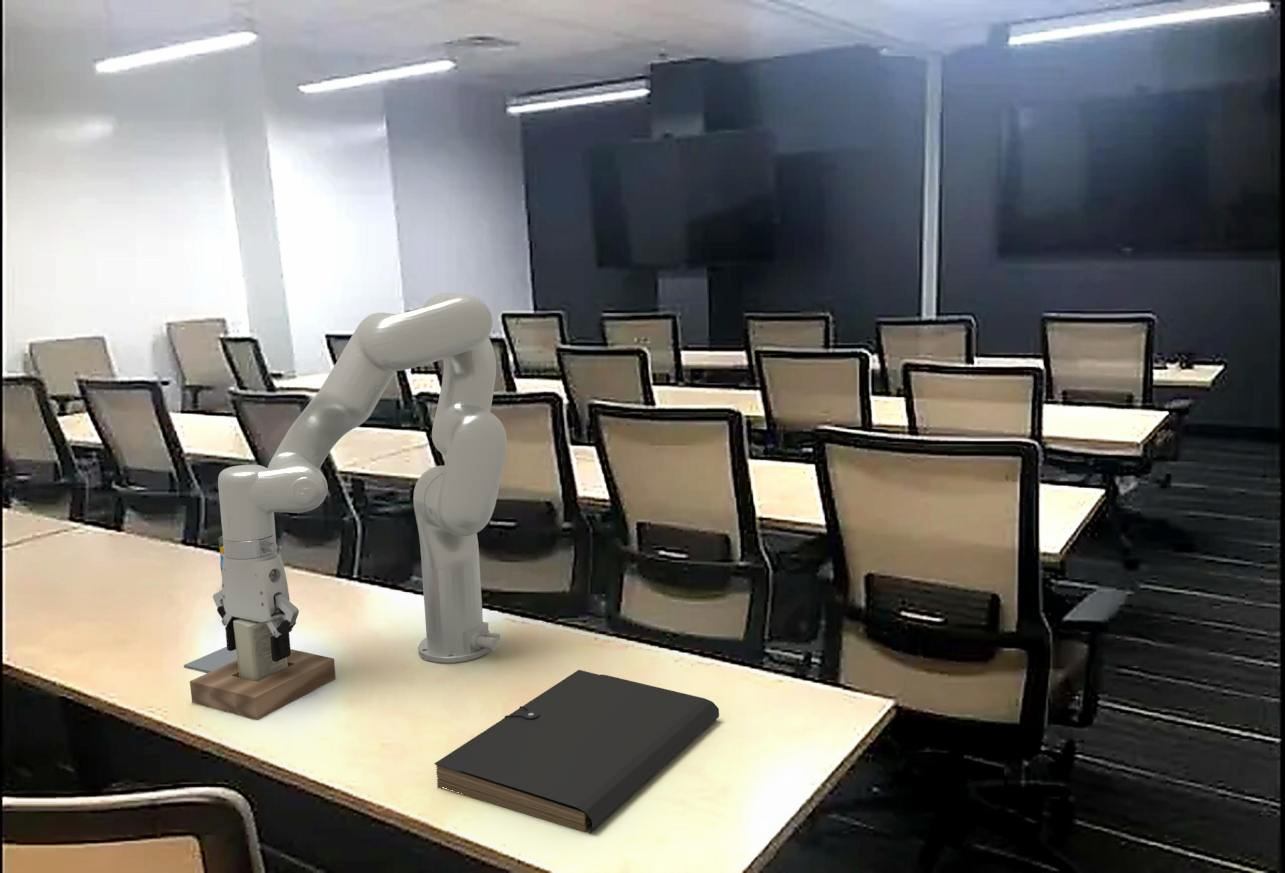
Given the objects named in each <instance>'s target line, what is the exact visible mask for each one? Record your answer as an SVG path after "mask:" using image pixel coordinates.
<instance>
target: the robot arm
mask: <svg viewBox="0 0 1285 873" xmlns="http://www.w3.org/2000/svg"><path fill="white" fill-rule="evenodd" d="M493 320H494V319H493V315H492V313H491V310H490V309H489V307H488V305H487V304H486V303H485V302H484V301H483V300H481V299H480V298H477V297H475V296H473V295H469V294H463V293H462V294H461V293H456V292H455V293H454V292H441V293H440V292H439V293H437V294H434V295H433V296H431V297H429V298H428V299H427V300H426V301H425V303H424V304H423V306H422V307H421V308H418V309H414V310H410V311H409V310H408V311H405V312H401V313H389V312H375V313H374V312H373V313H371V314H370V315H367V316H366V317H365V318H364V319H363V320H362V321H360V323H359V324H358V325H357V327H356V329H355V331H354V332H353V333H352V335H351V337H350V339H349V340H348V342H347V344H346V345H345V347H344V348H343V351H342V352H341V354H340V355H339V358H338V359H337V361H336V363H335V364H334V366H333V367H332V369H331V371H330V372H329V374H328V376H327V377H326V379H325V381H324V382H323V383H322V386H321V387H320V389H319V390H318V392H317V393H316V395H315V396H314V397H313V398H311V400H310V401H309V403H308V404H307V405H306V407H305V408H304V409H303V410H302V412H301V413H300V415H298V417H297V418H296V419H295V420H294V422H293V423H292V425H291V426H290V427H289V429H288V430H287V432H286V434H285V435H284V437H283V439H282V440H281V441H280V444H279V446H278V447H277V449H276V451H275V453H274V454H273V456H272V458H271V460H270V461H269V463H268V466H267V467H265V466H263V465H259V464H242V465H233V466H229V467H226V468H224V469H222V471H220V472H219V474H218V478H217V479H218V480H217V482H218V483H217V484H218V485H217V487H218V495H219V498H218V499H219V508H220V521H221V522H220V523H221V531H222V532H221V533H222V536H223V545H224V557H223V566H222V573H221V589H220V591H217V592H216V593H214V594H213V595H212V599H213V602H214V604H215V607H217V609H216V611H217V613H218V614H219V616H220V618H221V624H222V626H224V627H225V629H224V630H225V640H226V647H227V650H228V651H233V650H235V649H236V642H235V633H234V625H233V621H235V620H238V619H245V620H250V621H255V622H259V623H266V624H267V626H268V627H269V629H270V630H271V632H272V634H273V635H274V636H272V637H271V638H270V640H271V653H272V660H273V661H275V662H277V661H280V660H282V659H284V658H286V657H289V656H290V654H291V650H290V649H291V640H290V633H291V632H292V631H293V628H294V627H295V625H296V624H297V619H298V616H299V613H300V610H299V608H298V607H297V606H295V604H293V603H292V602H291V599H290V593H289V586H288V579H287V574H286V570H285V566H284V562H283V560H282V556H281V554H279V553H278V548H279V545H278V544H277V536H276V523H275V513H305V512H309V511H313V510H315V509H316V508H318V507H319V506H320V505H321V504H322V503H323V502H324V501H325V499H326V497H327V496H328V495H327V494H328V490H329V487H328V486H329V485H328V482H327V479H326V477H325V475H324V474H323V472H322V471H321V470H320V469H321V468H322V465H323V463H324V462H325V460H326V458H328V456H329V454H330V453H331V451H332V450H333V448H334V446H336V444H337V443H338V442H339V441H340V440H341V439H342V438H343V436H345V435H346V434H348V433H349V432H351V431H352V430H354V429H356V428H358V427H360V426H361V425H362V424H364V423H365V422H366V421H367V420H368V419H369V418H370V417H371V415H372V413H374V412H373V411H374V410H375V408H376V406H377V405H378V403H379V401H380V400H381V397H382V396H383V394H384V393H385V390H386V389H387V387H388V385H389V384H390V382H391V380H392V379H393V377H394V375H395V374H396V372H399V371H406V370H411V369H415V368H418V367H423V366H426V365H429V364H431V363H432V364H433V363H435V362H439V361H441V360H442V362H443V373H442V381H441V386H440V392H439V397H438V402H437V405H436V406H437V407H436V411H435V416H434V420H433V424H432V430H431V439H432V443H433V446H434V447H435V449H436V450H437V451H438V452H440V454H441V455H443V456H444V457H446V458H445V463H444V465H436V466H433V467H431V468H429V469H427V470H426V471H424V472H422V474H421V475H420V477H419V478H418V479H417V481H416V484H415V486H414V490H413V509H414V515H415V520H416V525H417V530H418V537H419V545H420V557H421V560H420V562H421V577H422V589H423V592H422V593H423V603H424V605H423V606H424V619H425V632H426V633H425V635H426V637H425V638H423V639H422V640H421V641H420V642H419V643H418V646H417V651H418V654H419V656H420V657H421V658H422V659H424V660H427V661H430V662H432V663H433V662H434V663H443V664H446V663H447V664H451V663H460V662H461V663H462V662H467V661H471V660H475V659H478V658H481V657H482V656H484V655H487V654H488V653H489V652H490V651H492V650H493V651H495V650H497V649H498V647H499V642H500V641H501V637H502V636H501V634H500V633H496V632H490V630H489V622H486V621H484V620H483V618H484V617H483V604H482V603H483V601H482V600H483V599H482V587H481V586H482V585H481V584H482V583H481V570H480V569H481V568H480V567H481V566H480V550H479V540H478V534H477V533H480V532H481V531H482V530H483V529H484V528H485V527H486V526H487V525H488V523H489V522H490V520H491V518H492V516H493V513H494V510H495V508H496V503H497V499H498V494H499V491H500V490H499V489H500V484H501V481H502V475H503V472H504V466H505V462H506V456H507V451H508V440H507V432H506V429H505V427H504V424H503V423H502V422H501V420H500V419H499V418H498V417H497V416H496V415H495V414H494V413H493V412H491V410H492V403H493V397H494V390H495V383H496V378H497V376H496V375H497V361H496V360H497V359H496V354H495V350H494V346H493V344H492V341H491V339H490V334H491V332H492V329H493ZM271 614H275V615H274V616H271ZM277 620H278V621H279V622H280V625H279V627H278V626H277V624H276V623H275V621H277Z"/></svg>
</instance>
